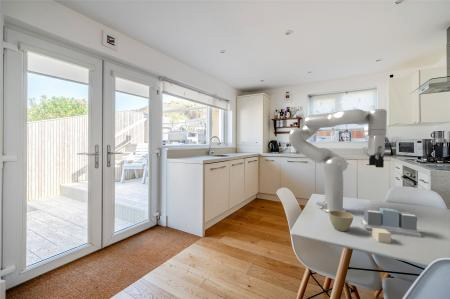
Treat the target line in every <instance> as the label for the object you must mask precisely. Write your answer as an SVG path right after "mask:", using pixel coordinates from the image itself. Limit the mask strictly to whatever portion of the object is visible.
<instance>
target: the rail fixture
mask: <svg viewBox="0 0 450 299" xmlns="http://www.w3.org/2000/svg"><path fill="white" fill-rule="evenodd" d="M363 211H364V212H363V219H362V220H360V224H361V225H362V227H363V228H364V229H365V230H366V231H370V232H373V228H379V229H385V230H387V231H388V232H390V233H391V235H392V234H393V235H401V236H410V237H417V238H422V233H420V231H419V229H418V227H417V226H418V216H416V215H415V214H413V213H411V212H409V211H400V210H399V211H398V210H397V211H398V212H399V228H397V227H389V226H382V225H381V213H380V212H379V210H378V209H377V208H370V207H369V208H367V207H364V210H363Z"/></svg>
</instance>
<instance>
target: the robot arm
mask: <svg viewBox="0 0 450 299" xmlns="http://www.w3.org/2000/svg"><path fill="white" fill-rule="evenodd" d="M387 118H388V113H387V109H385V108H375V109H374V108H373V109H370V110H366V111H365V110H363V109H358V108H357V109H347V110H341V111H333V112H327V113H318V114H309V115H307V116H306V117H305V119H303V120H304V121H303V123H304V127H302V128H300V127H299V128H298V127H296V128H293V129H292V130H291V131H290V132H289V134H288V140H289V143H290V145H291V147H292V148H293V149H295V150H296V151H297V152H299V153H300V154H301V155H304V157H306V158H308V159H310V160H311V161H312V162H313V163H316V164H324V167H323V169H324V200H323V201H321V202H320V201H316V203H315V204H316V206H318V207H321V210H322V211H323V212H325V213H328V214H329V212H330V211H343V212H347V211H346V208H344V171H346V170H347V168H348V162H347V160H346V159H345V158H344V157H342V156H340V155H339V154H337V153H335V152H333V151H331V150H330V149H328V148H325V147H318V146H317V145H314V144H313V143H311V142H310V141H308V140H309V139H310V138H311V137H313V136H314V134H316V133H317V132H318V131H319V130H320V129H325V128H334V127H336V126H337V127H338V126H342V125H354V124H355V125H359V126H360V125H361V126H363V125H367V126H368V128H367V136H368V139H367V140H368V141H367V154H368V156H369V157H368V165H369V166H375V168H381V169H382V168H384V165H385V164H384V163H385V162H384V160H385V151H386V149H385V147H386V146H385V143H386V142H385V137H387V122H388V121H387Z"/></svg>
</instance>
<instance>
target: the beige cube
mask: <svg viewBox="0 0 450 299" xmlns="http://www.w3.org/2000/svg"><path fill="white" fill-rule="evenodd" d="M371 235H372V238H373V239H374V240H376V242H378V243H386V244H387V243H388V244H391V243H392V242H391V241H392V233H390V232H388V231H387V230H385V229H379V228H373V231H372V234H371Z"/></svg>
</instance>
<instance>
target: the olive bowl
mask: <svg viewBox="0 0 450 299" xmlns="http://www.w3.org/2000/svg"><path fill="white" fill-rule="evenodd" d="M328 216H329V220H330V222H331V225H332V227H333V228H334V229H335V230H337V231H338V232H339V231H340V232H346V231H348V229H350V227H351V225H352V223H353V221H354V215H353V214H351V213H349V212H347V211H346V212H343V211H330V212H329V213H328Z"/></svg>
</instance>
